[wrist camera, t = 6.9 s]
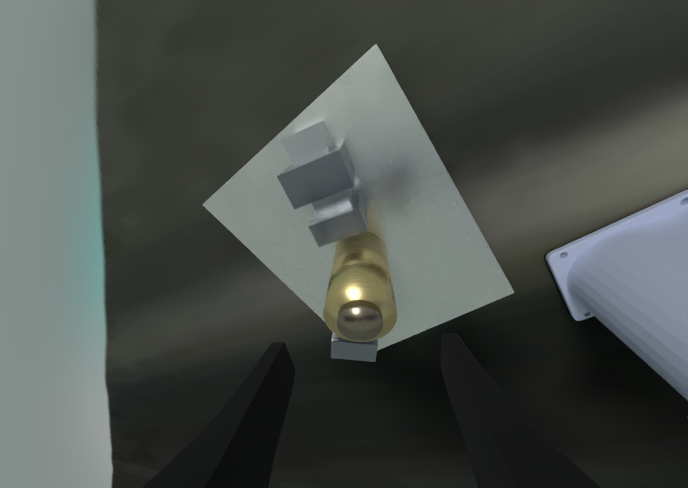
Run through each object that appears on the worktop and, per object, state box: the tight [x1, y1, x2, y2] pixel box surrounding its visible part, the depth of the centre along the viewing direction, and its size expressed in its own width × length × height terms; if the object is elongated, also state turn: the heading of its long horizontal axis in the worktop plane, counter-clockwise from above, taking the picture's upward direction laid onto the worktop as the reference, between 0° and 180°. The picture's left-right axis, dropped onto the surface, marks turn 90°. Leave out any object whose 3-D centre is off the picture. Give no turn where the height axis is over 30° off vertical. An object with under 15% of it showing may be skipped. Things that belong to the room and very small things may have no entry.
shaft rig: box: [203, 44, 514, 362], centre depth 18 cm, size 15×20×4 cm
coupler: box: [323, 231, 397, 342], centre depth 16 cm, size 4×4×7 cm
